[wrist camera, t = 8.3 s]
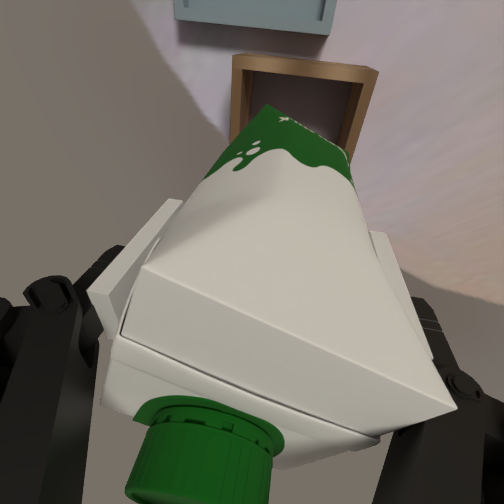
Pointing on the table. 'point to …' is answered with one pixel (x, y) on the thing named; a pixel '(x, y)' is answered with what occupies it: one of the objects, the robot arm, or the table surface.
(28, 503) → the robot arm
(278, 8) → the tray
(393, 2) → the table surface
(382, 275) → the soya milk
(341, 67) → the holder
